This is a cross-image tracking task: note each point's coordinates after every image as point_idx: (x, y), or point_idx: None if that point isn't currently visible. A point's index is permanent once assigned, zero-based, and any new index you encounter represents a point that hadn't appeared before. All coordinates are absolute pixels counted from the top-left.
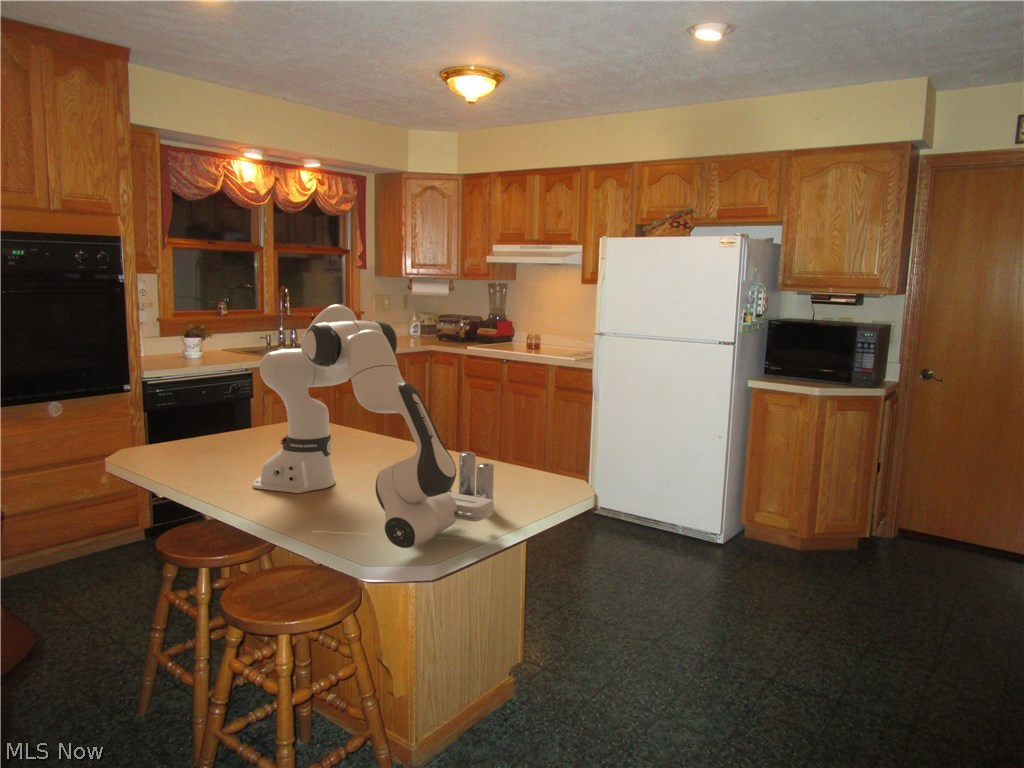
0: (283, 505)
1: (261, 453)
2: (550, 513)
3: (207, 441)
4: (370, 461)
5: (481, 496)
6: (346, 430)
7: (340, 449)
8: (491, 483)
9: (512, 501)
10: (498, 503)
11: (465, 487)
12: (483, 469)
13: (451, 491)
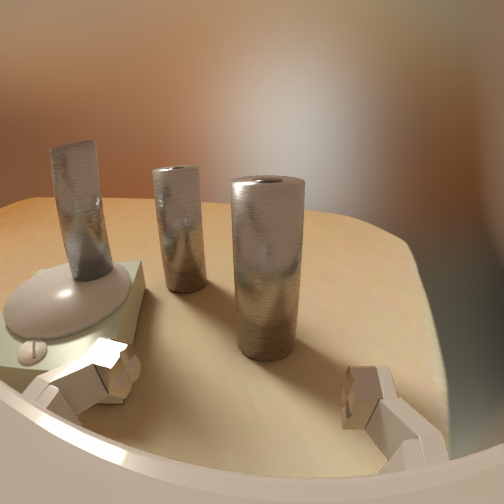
0: None
1: None
2: (425, 303)
3: None
4: (43, 226)
5: (387, 399)
6: (49, 198)
7: (26, 217)
8: (301, 253)
9: (305, 279)
10: None
11: (181, 263)
12: (275, 196)
13: (134, 351)
